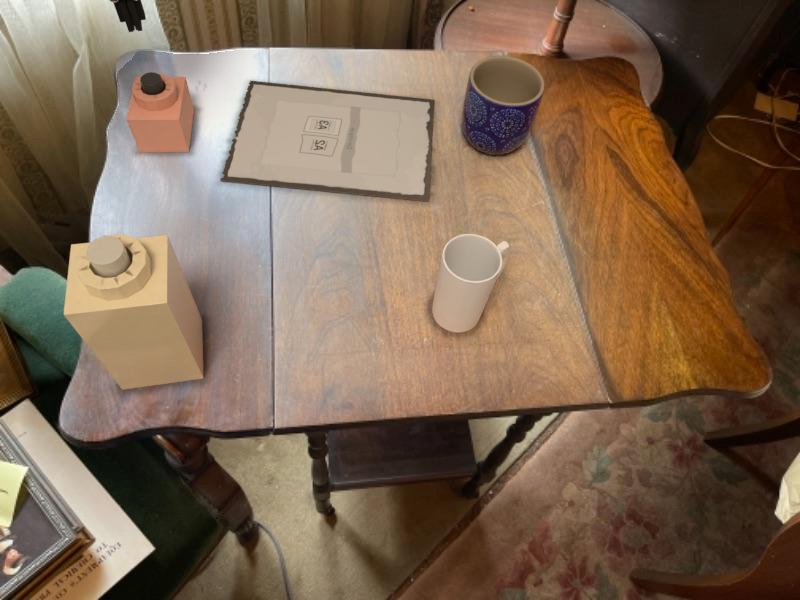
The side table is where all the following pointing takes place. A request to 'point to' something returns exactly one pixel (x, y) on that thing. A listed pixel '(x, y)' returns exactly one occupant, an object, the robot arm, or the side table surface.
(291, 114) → the picture frame
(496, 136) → the planter
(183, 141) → the orange push button box
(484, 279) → the mug
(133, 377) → the tan box with knob
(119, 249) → the grey push button
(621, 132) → the side table surface
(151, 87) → the black push button
